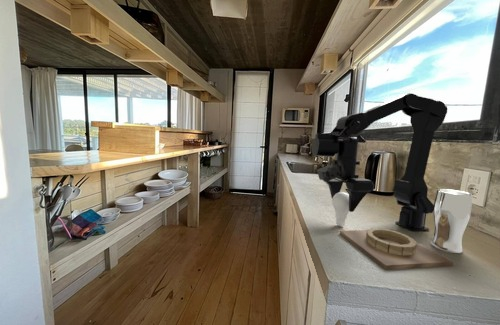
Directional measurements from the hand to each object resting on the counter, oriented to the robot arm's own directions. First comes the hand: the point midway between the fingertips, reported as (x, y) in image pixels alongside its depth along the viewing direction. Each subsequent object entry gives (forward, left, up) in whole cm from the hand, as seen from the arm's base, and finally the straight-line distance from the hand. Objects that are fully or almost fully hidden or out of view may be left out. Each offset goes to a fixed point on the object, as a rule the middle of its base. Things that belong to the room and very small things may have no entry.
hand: (342, 206), depth 67 cm
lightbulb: (0, 0, -7) cm, 7 cm away
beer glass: (-21, +15, -7) cm, 27 cm away
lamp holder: (-5, +14, -6) cm, 16 cm away
